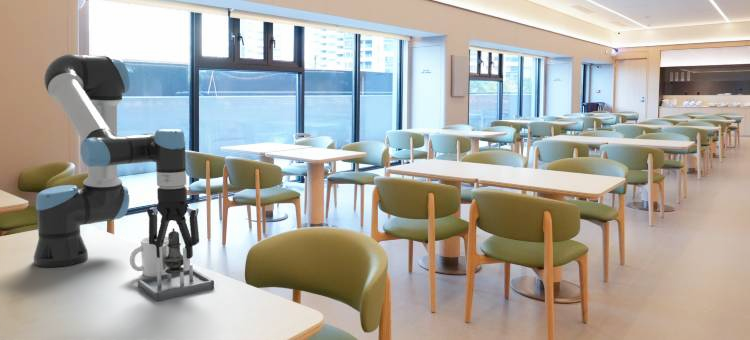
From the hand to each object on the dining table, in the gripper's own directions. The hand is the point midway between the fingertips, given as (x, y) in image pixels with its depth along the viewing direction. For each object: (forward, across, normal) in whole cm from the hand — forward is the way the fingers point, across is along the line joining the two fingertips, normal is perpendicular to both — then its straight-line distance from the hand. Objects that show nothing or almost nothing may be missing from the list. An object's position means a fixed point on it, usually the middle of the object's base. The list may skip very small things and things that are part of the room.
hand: (175, 269), depth 163 cm
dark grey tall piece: (+1, 0, 0) cm, 1 cm away
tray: (+5, 0, 0) cm, 5 cm away
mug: (+6, -12, +11) cm, 17 cm away
